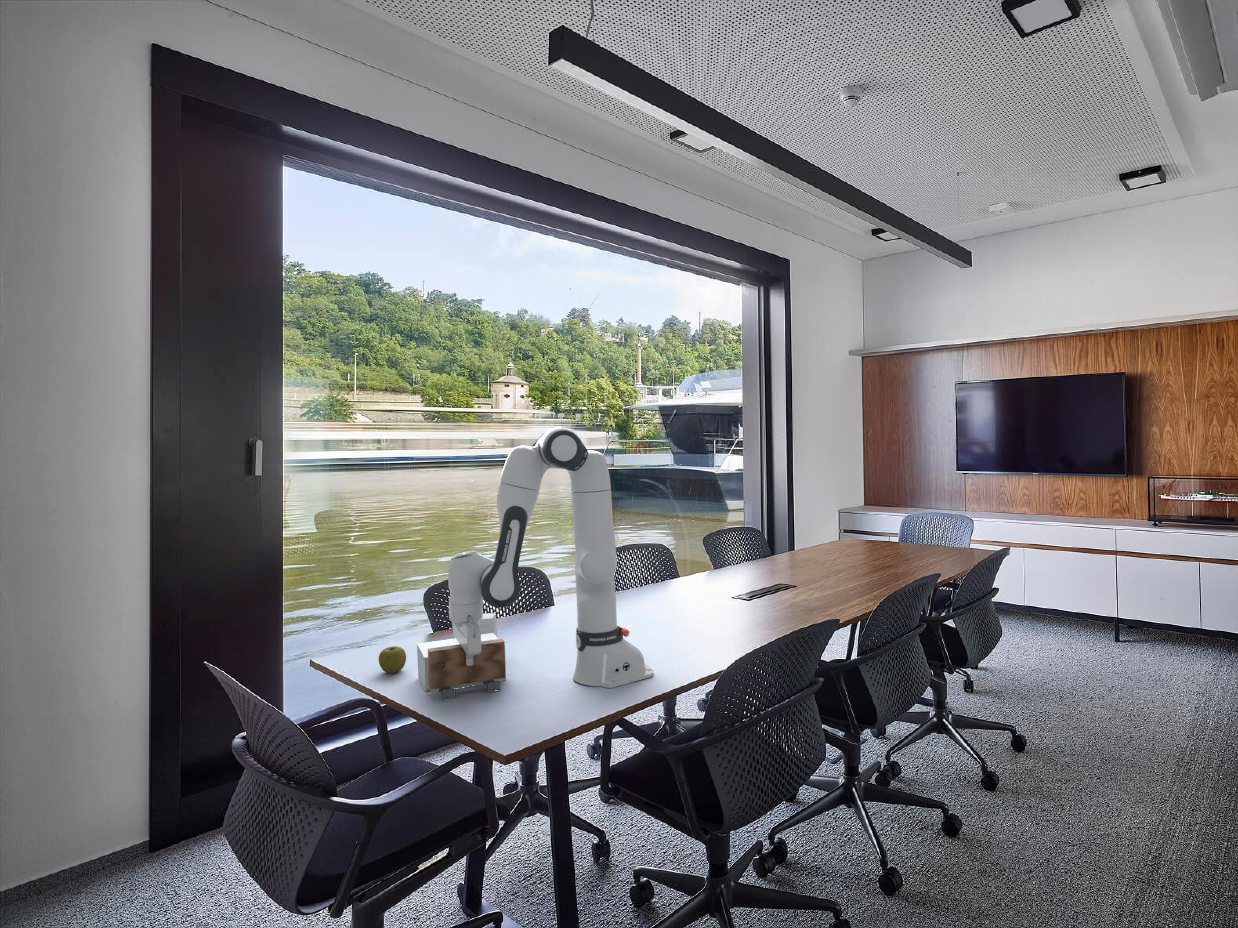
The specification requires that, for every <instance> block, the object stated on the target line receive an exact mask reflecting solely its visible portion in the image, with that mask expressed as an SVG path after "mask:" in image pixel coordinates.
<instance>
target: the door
mask: <svg viewBox="0 0 1238 928" xmlns="http://www.w3.org/2000/svg"><path fill="white" fill-rule="evenodd" d="M465 658H466V653H465V651H464V649H463V648H462V647H461V645H460V644H459V645H451V646H444V647H437V648H429V649H428V673H429V687H430V689H437V688H443V687H449V686H456V685H462V684H468V683H474V682H481V681H487V680H493V679H500V678H505V662H506V645H505V640H504V639H503V638H498V639H495V640H488V641H481V654H479V655H474V657H473V665H472V666H467V665H466V663H465V662H466V661H465Z"/></svg>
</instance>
